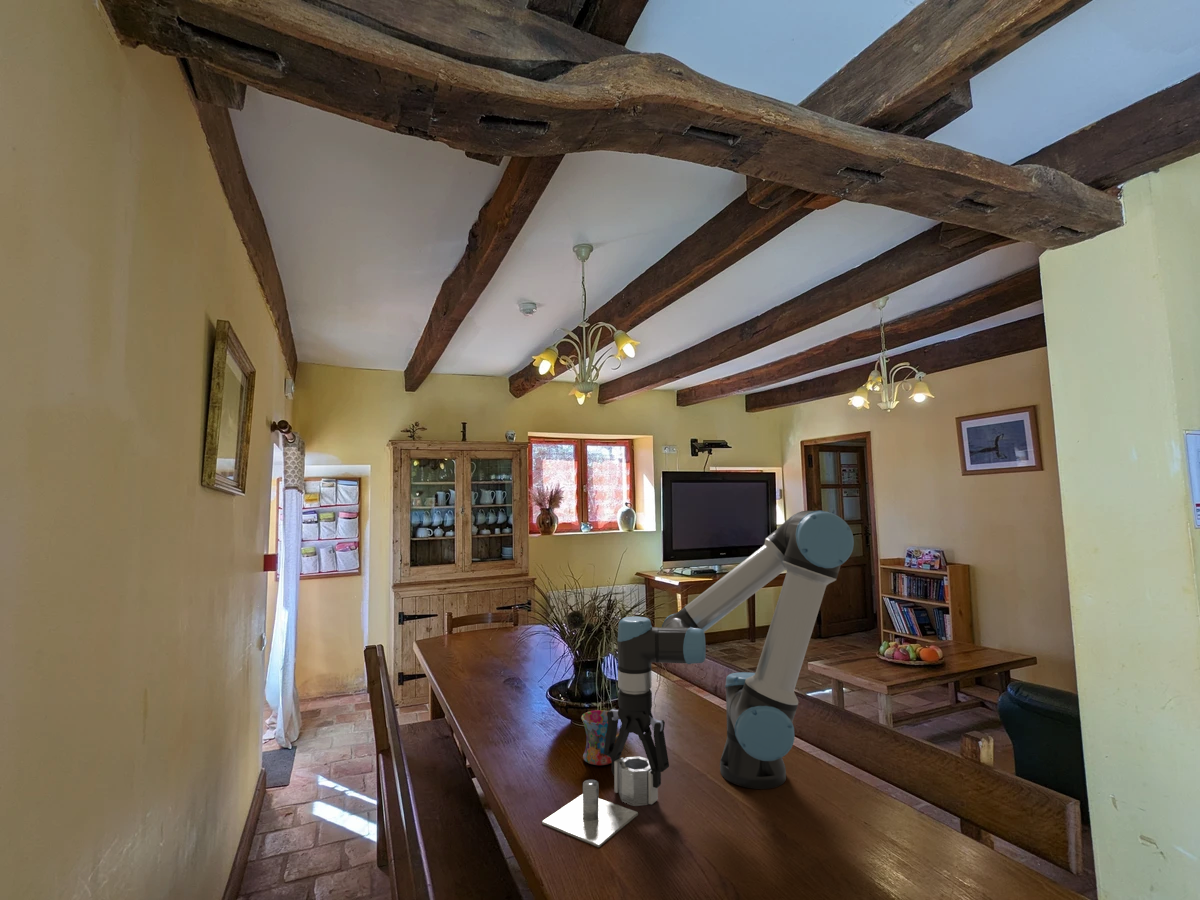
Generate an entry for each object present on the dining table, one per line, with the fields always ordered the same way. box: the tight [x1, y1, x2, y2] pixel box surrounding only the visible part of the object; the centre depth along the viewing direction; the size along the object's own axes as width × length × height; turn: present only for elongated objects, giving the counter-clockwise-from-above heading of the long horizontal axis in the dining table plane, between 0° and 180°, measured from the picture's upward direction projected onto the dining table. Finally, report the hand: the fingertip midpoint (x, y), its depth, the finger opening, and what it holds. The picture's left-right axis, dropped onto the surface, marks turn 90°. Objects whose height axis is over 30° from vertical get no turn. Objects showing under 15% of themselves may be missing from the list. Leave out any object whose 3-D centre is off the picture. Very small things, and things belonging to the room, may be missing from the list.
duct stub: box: [542, 779, 639, 848], centre depth 119 cm, size 14×14×7 cm
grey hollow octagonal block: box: [618, 755, 651, 807], centre depth 128 cm, size 7×7×7 cm
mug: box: [581, 709, 620, 766], centre depth 147 cm, size 12×9×11 cm
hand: (635, 795), depth 128 cm, fingers open, 8 cm apart
